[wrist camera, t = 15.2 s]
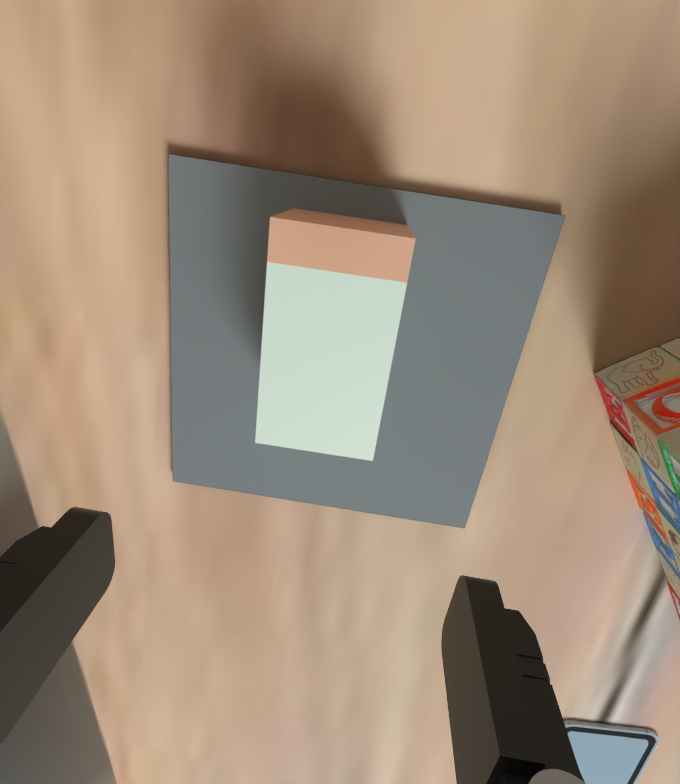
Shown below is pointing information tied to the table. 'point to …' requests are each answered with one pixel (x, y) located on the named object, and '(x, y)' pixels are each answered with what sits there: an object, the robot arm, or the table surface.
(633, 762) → the smartphone
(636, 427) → the stack of blocks
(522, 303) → the charcoal mat
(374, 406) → the sage block
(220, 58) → the table surface
